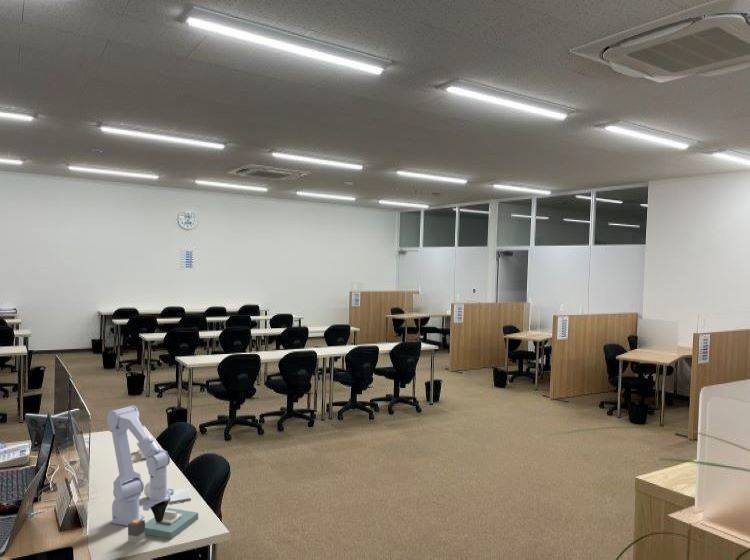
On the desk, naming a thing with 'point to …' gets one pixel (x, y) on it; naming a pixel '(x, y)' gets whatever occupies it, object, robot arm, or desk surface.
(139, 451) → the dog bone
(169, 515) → the plate
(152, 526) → the socket board
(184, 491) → the hard drive
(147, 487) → the white rounded ovoid
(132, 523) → the plug
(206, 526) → the desk surface
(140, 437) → the robot arm
